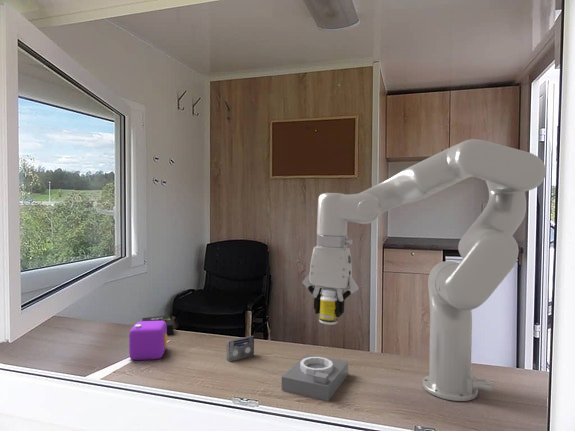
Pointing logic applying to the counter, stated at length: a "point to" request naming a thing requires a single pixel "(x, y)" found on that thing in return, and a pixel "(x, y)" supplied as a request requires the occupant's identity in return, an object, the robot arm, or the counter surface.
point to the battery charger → (162, 318)
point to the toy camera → (148, 340)
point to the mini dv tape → (240, 348)
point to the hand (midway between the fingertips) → (328, 313)
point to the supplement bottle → (328, 306)
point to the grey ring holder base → (315, 377)
